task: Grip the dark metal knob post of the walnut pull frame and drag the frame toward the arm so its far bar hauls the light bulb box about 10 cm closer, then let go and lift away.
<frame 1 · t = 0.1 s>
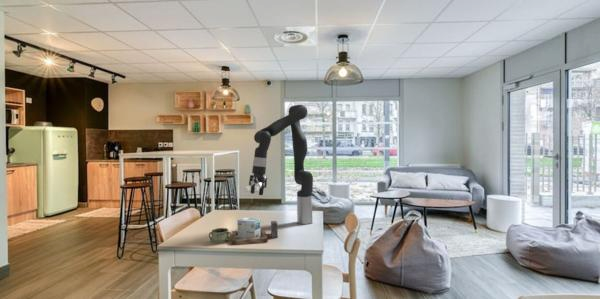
hand: (256, 194, 178), 22 cm above the table, tool pointing down, fingers open, 8 cm apart
pull frame: (254, 230, 169), point 4 cm above the table, slide at 0.0 cm
light bulb box: (249, 239, 168), resting in pull frame
vessel: (220, 242, 164), on the table
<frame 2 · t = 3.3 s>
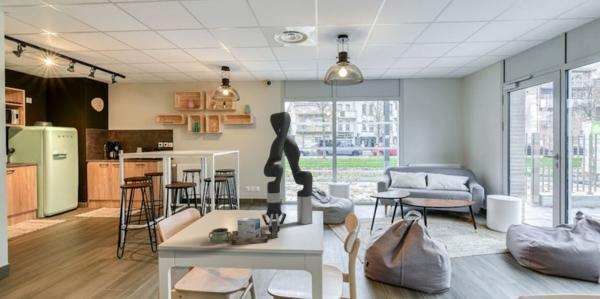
hand: (274, 232, 171), 3 cm above the table, tool pointing down, fingers closed on pull frame, 3 cm apart
pull frame: (254, 230, 169), point 4 cm above the table, slide at 0.0 cm, touching gripper
everything else where it was.
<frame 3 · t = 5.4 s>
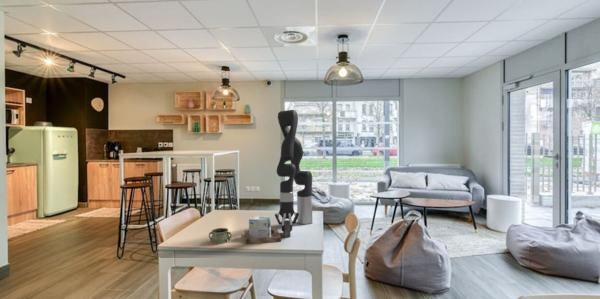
hand: (286, 231, 172), 3 cm above the table, tool pointing down, fingers closed on pull frame, 3 cm apart
pull frame: (267, 229, 170), point 4 cm above the table, slide at 7.0 cm, touching gripper, light bulb box
light bulb box: (260, 237, 171), resting in pull frame
everything else where it was.
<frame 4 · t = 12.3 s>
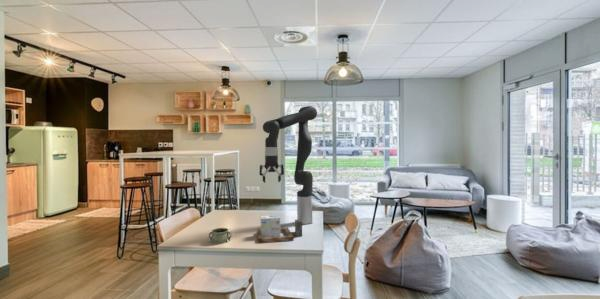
hand: (271, 182, 185), 28 cm above the table, tool pointing down, fingers open, 8 cm apart
pull frame: (279, 229, 171), point 4 cm above the table, slide at 13.5 cm
light bulb box: (270, 236, 173), resting in pull frame
everything else where it was.
at the end: pull frame slide at 13.5 cm; light bulb box inside the target area (2.9 cm from its centre), resting in pull frame; light bulb box tilted 0° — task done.
